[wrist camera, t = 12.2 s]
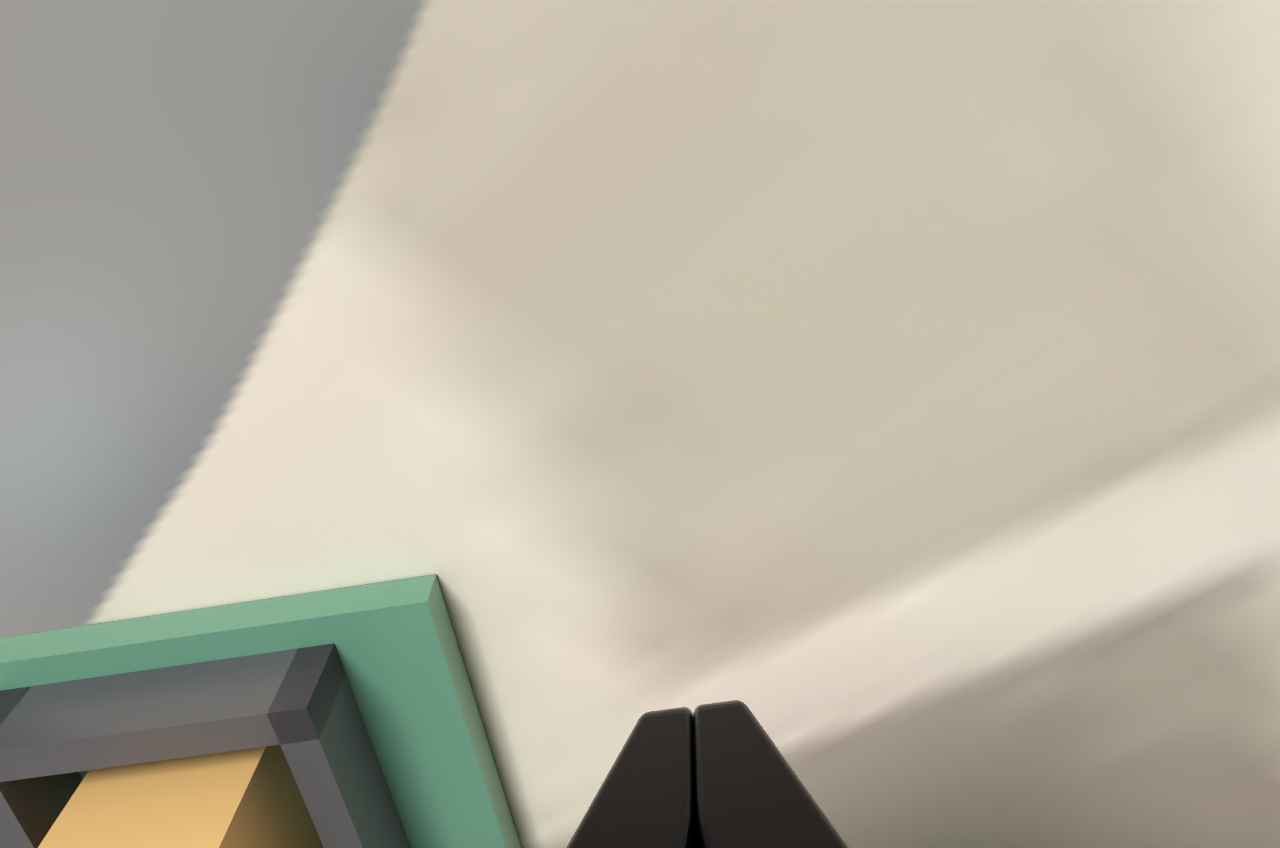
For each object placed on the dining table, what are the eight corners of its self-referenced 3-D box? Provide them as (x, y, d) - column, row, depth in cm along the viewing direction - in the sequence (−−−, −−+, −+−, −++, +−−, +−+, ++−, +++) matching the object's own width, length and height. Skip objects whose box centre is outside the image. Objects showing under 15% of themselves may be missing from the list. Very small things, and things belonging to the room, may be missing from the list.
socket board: (544, 923, 27) (533, 1034, 24) (109, 974, 28) (51, 1086, 25) (435, 573, 22) (406, 663, 19) (-83, 650, 23) (-180, 746, 20)
